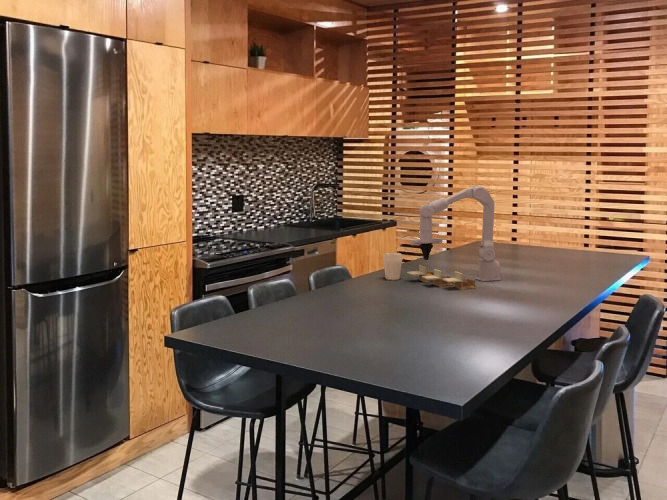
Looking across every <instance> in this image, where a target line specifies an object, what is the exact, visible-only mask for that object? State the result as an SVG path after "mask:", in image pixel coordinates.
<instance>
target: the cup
mask: <svg viewBox="0 0 667 500" xmlns="http://www.w3.org/2000/svg"><path fill="white" fill-rule="evenodd" d="M382 257H383V258H382V263H383V270H384V275H385V280H388V281H398V280H400V279H401V278H400V277H401V273H402V272H401V271H402V263H403V254H402V253H400V252H385V253H383V255H382Z"/></svg>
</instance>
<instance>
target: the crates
mask: <svg viewBox="0 0 667 500" xmlns="http://www.w3.org/2000/svg"><path fill="white" fill-rule="evenodd" d="M427 274H432V275H434V271H427ZM422 276H425V275H418V280H419V281H421V282H423V283H430V282H431V283H433V285H434V286H437V287H440V288H441V287H442V288H444V287H454V288H456V289H459V290H473V289H476V280H473V279H472V278H469V277H467V278H463V282H446V281H444V280H442V279H443V278H453V277H451V276H449V275H442V279H434V280H425V278H422Z"/></svg>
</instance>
